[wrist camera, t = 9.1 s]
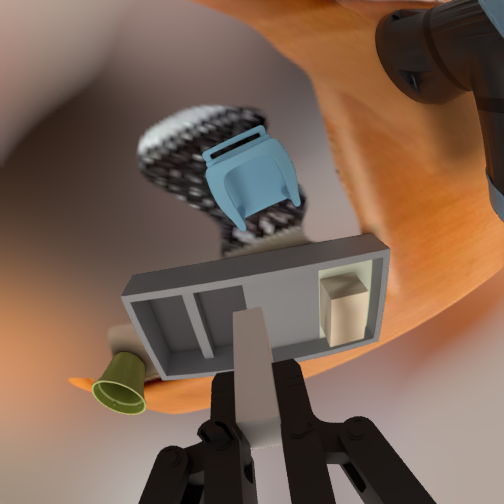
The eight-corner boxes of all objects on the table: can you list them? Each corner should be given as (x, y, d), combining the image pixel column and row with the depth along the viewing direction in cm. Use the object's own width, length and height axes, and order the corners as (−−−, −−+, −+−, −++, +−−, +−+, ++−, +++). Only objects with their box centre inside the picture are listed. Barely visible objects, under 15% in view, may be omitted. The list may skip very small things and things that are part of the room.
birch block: (353, 271, 36) (369, 291, 31) (351, 317, 39) (363, 338, 35) (319, 279, 36) (331, 300, 31) (320, 324, 39) (330, 347, 35)
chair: (232, 212, 34) (236, 254, 23) (201, 152, 30) (187, 164, 19) (289, 186, 33) (321, 215, 22) (261, 124, 30) (281, 120, 19)
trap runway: (371, 232, 36) (390, 248, 31) (365, 320, 43) (378, 341, 38) (132, 275, 36) (120, 296, 31) (167, 356, 43) (162, 380, 38)
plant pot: (104, 337, 40) (88, 374, 32) (155, 352, 42) (146, 391, 34) (107, 371, 44) (95, 405, 36) (152, 383, 46) (145, 419, 38)
